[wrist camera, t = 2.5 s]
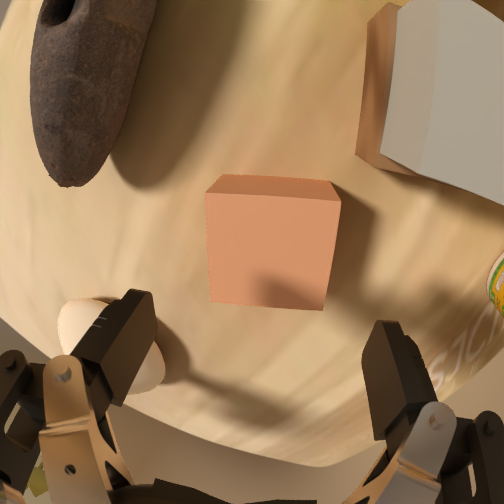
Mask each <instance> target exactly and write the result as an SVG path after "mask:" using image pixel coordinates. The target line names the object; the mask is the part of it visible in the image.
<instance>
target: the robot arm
mask: <svg viewBox="0 0 504 504" xmlns="http://www.w3.org/2000/svg"><path fill="white" fill-rule="evenodd" d="M156 333H157V321H156V316H155V310H154V303H153V297H152V294H151V293H150V292H148V291H142V290H137V289H129V290H128V291H127V293H126V294H125V295H124V297H123V298H122V299H121V300H115V301H114V302H112V303H110V304H109V305H107V306H106V307H105V308H104V309H103V311H102V312H101V313H100V314H99V316H98V318H96V320H95V321H94V322H93V323H92V326H90V327H89V329H88V330H87V331H86V333H85V334H84V335H83V337H82V338H81V340H80V341H79V342H78V344H77V345H76V346H75V348H74V349H73V351H72V352H71V353H70V354H69V355H60V356H57V357H54V358H53V359H51V360H50V361H49V362H48V363H47V364H37V363H28V361H27V359H26V358H25V356H24V354H23V353H22V352H20V351H18V350H10V351H6V352H5V353H3V354H2V355H1V356H0V504H26V503H25V500H24V498H23V494H24V492H25V489H26V486H27V483H28V481H29V478H30V476H31V473H32V471H33V468H34V465H35V463H36V461H37V459H38V456H39V454H40V452H41V455H42V461H43V467H44V472H45V476H46V481H47V485H48V489H49V493H50V497H51V501H52V504H231V503H228V502H225V501H223V500H220V499H218V498H215V497H213V496H210V495H208V494H206V493H203V492H201V491H199V490H197V489H194V488H191V487H187V486H182V485H179V484H174V483H170V482H167V481H163V480H160V479H157V478H155V481H154V484H139V485H135V483H134V481H133V478H132V476H131V474H130V472H129V470H128V468H127V466H126V464H125V463H124V461H123V459H122V457H121V454H120V451H119V448H118V445H117V443H116V439H115V436H114V433H113V429H112V426H111V423H110V419H109V416H108V413H107V409H108V407H109V405H110V404H113V405H116V406H119V407H121V406H122V404H123V402H124V400H125V398H126V396H127V393H128V391H129V389H130V387H131V385H132V383H133V381H134V379H135V377H136V375H137V373H138V371H139V369H140V367H141V365H142V363H143V361H144V359H145V357H146V355H147V353H148V351H149V349H150V347H151V346H152V344H153V342H154V340H155V337H156ZM421 357H422V356H421V353H420V351H419V349H418V346H417V345H416V343H415V342H414V341H413V340H412V339H411V338H410V337H409V336H408V335H404V333H403V331H402V329H401V326H400V324H399V322H398V321H388V320H378V321H376V323H375V325H374V327H373V330H372V332H371V334H370V336H369V339H368V341H367V343H366V345H365V348H364V350H363V353H362V361H361V363H362V370H363V375H364V380H365V385H366V391H367V396H368V402H369V408H370V414H371V420H372V426H373V433H374V440H375V441H377V440H386V443H387V446H386V447H385V448H384V449H383V451H382V453H381V454H380V456H379V457H378V459H377V460H376V462H375V463H374V465H373V467H372V468H371V469H370V471H369V472H368V474H367V475H366V477H365V478H364V480H363V481H362V482H361V484H360V485H359V486H358V488H357V489H356V490H355V491H354V492H353V493H352V494H351V495H350V496H349V497H348V498H347V499H346V500H345V501H344V502H343V503H342V504H434V502H435V504H504V424H503V422H502V420H501V418H500V417H499V416H498V415H497V414H496V413H494V412H492V411H484V412H482V413H480V414H479V415H478V416H477V417H476V418H475V419H474V420H472V419H466V418H459V417H456V416H455V414H454V412H453V410H452V409H451V408H450V407H449V406H448V405H446V404H444V403H442V402H438V399H437V397H436V394H435V391H434V388H433V385H432V382H431V380H430V377H429V374H428V371H427V369H426V368H425V364H424V361H423V359H421ZM16 403H18V404H19V405H20V406H21V407H20V409H19V411H18V413H17V414H16V416H15V418H14V420H13V422H12V424H11V425H10V427H9V429H8V432H7V433H6V434H5V432H4V426H5V423H6V421H7V419H8V417H9V415H10V414H11V412H12V410H13V408H14V406H15V405H16ZM471 464H473V469H474V475H475V481H476V493H475V496H474V497H472V490H471V483H470V476H469V470H468V466H469V465H471ZM246 504H317V500H271V501H264V502H255V503H246Z"/></svg>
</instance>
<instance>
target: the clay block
mask: <svg viewBox="0 0 504 504" xmlns="http://www.w3.org/2000/svg"><path fill="white" fill-rule="evenodd" d="M340 209H341V200H340V198H339V196H338V195H337V193H336V191H335V190H334V188H333V186H332V184H331V183H330V181H324V180H313V179H301V178H288V177H273V176H254V175H228V174H223V175H222V176H221V177H220V178H219V179H218V180H217V181H216V182H215V183H214V184H213V185H212V186H211V187H210V188H209V189H208V190H207V191H206V192H205V211H206V233H207V252H208V268H209V283H210V297H211V302H218V303H228V304H238V305H249V306H261V307H273V308H286V309H301V310H318V311H323V307H324V302H325V297H326V292H327V287H328V282H329V276H330V271H331V266H332V260H333V254H334V248H335V242H336V236H337V230H338V223H339V216H340Z"/></svg>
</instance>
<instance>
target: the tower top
mask: <svg viewBox="0 0 504 504" xmlns="http://www.w3.org/2000/svg"><path fill="white" fill-rule="evenodd" d="M380 153H381V154H383V155H385V156H387V157H388V158H390V159H392V160H394V161H396V162H398V163H400V164H402V165H404V166H406V167H407V168H409V169H411V170H413V171H415V172H416V173H418V174H421V175H424V176H427V177H430V178H434V179H437V180H439V181H442V182H445V183H448V184H451V185H454V186H457V187H459V188H462V189H465V190H467V191H470V192H472V193H475V194H478V195H480V196H482V197H485V198H487V199H490V200H492V201H494V202H497V203H499V204H501V205H504V22H503V21H501V20H500V19H499V18H497V17H496V16H495V15H493V14H492V13H490V12H489V11H487V10H486V9H484V8H483V7H481V6H480V5H478V4H477V3H475V2H473V1H472V0H411V1H409V2H408V3H407V4H406V5H404V6H403V7H402V8H400V9H399V10H398V11H397V31H396V44H395V55H394V65H393V74H392V82H391V89H390V96H389V103H388V109H387V116H386V121H385V127H384V132H383V138H382V143H381V148H380Z"/></svg>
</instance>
